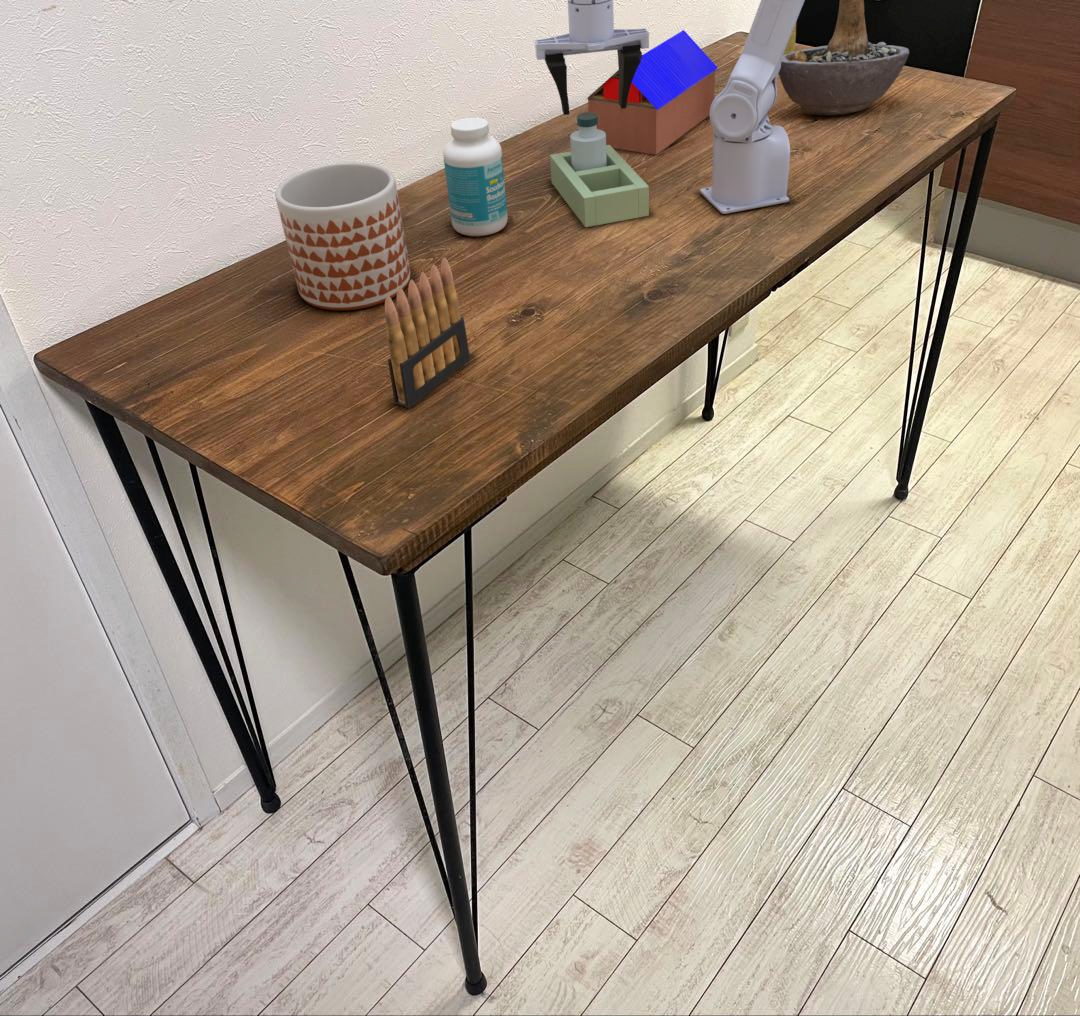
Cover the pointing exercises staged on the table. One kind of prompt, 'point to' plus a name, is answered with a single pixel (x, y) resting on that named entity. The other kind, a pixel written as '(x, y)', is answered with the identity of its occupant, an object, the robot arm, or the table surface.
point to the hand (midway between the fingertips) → (594, 109)
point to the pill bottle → (475, 179)
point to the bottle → (588, 144)
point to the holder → (601, 189)
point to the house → (657, 97)
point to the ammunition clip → (425, 336)
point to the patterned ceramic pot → (344, 234)
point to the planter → (842, 68)
